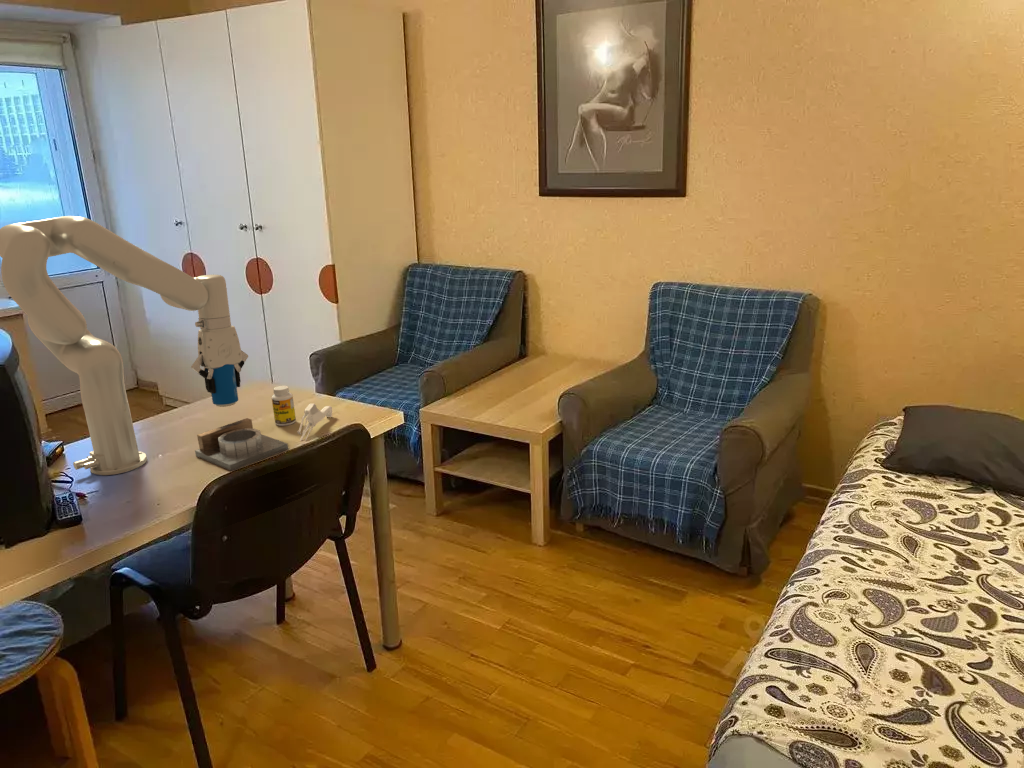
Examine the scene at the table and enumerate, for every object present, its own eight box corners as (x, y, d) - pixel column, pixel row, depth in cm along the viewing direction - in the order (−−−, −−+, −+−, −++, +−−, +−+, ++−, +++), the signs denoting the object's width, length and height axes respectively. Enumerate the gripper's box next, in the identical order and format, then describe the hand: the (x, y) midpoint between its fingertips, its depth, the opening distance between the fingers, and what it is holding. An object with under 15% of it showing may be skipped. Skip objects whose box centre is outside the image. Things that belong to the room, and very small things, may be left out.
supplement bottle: (272, 426, 210) (266, 391, 207) (279, 419, 215) (274, 384, 212) (291, 426, 210) (286, 390, 207) (299, 419, 215) (294, 384, 212)
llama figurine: (313, 459, 203) (334, 413, 217) (301, 428, 196) (323, 382, 209) (307, 459, 204) (328, 413, 217) (294, 428, 196) (317, 382, 210)
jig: (231, 470, 182) (227, 449, 181) (196, 456, 192) (192, 435, 191) (288, 449, 194) (285, 428, 192) (252, 436, 204) (249, 416, 202)
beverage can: (233, 407, 203) (227, 363, 200) (209, 407, 204) (203, 363, 200) (242, 400, 210) (236, 357, 206) (218, 400, 210) (212, 357, 206)
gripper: (191, 330, 192) (200, 399, 197) (253, 319, 204) (260, 384, 209) (176, 327, 196) (185, 394, 201) (237, 316, 209) (245, 379, 214)
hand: (223, 388), depth 205 cm, fingers closed on beverage can, 6 cm apart
